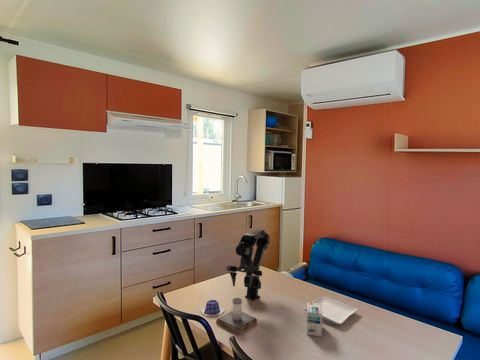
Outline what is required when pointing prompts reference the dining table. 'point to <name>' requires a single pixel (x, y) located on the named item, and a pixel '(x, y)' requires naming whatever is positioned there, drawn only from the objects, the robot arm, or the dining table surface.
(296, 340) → the dining table surface
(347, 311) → the salad plate
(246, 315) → the walnut stand
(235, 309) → the beige grey cylinder
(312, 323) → the light bulb box
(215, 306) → the pudding
